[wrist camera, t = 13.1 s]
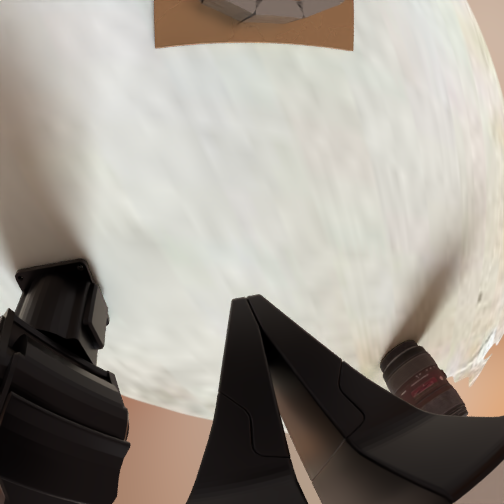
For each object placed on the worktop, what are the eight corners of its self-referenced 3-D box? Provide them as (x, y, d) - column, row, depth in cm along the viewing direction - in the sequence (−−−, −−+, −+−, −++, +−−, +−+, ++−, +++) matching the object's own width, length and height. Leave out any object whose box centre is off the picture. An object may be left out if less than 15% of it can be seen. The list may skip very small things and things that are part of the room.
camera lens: (397, 337, 38) (454, 421, 26) (426, 335, 41) (478, 406, 29) (365, 374, 41) (411, 453, 29) (397, 369, 44) (440, 437, 33)
